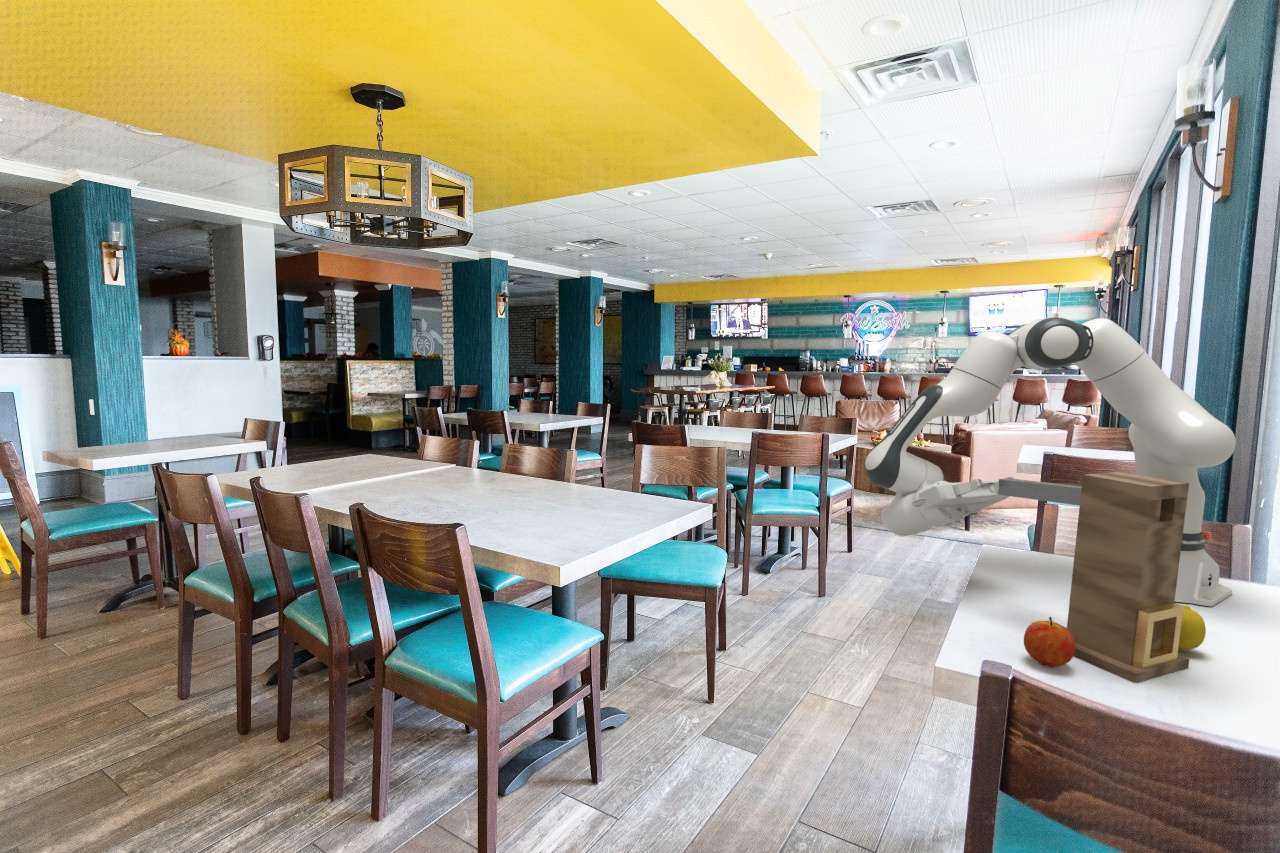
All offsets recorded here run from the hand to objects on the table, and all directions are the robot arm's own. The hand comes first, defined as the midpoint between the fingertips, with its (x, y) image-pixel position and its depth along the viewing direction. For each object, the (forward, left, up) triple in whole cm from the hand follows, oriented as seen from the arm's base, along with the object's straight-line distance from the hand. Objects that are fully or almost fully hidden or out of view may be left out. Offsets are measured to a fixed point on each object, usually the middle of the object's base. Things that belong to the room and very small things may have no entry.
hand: (996, 481), depth 125 cm
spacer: (0, +30, -23) cm, 38 cm away
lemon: (-13, +27, -25) cm, 39 cm away
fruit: (+14, +22, -25) cm, 36 cm away
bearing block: (0, +24, -25) cm, 34 cm away
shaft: (0, +14, -1) cm, 14 cm away
